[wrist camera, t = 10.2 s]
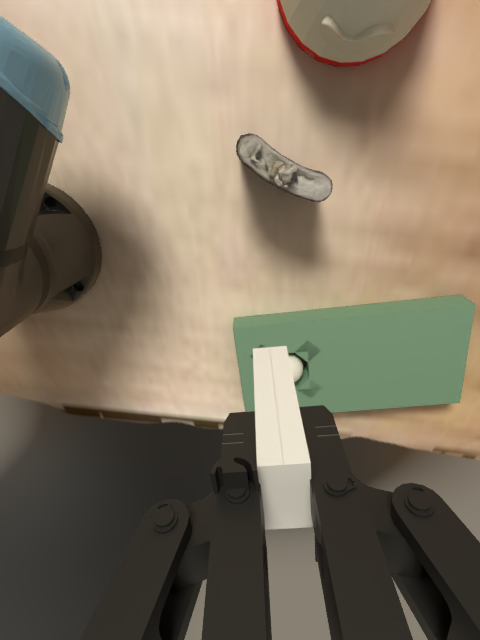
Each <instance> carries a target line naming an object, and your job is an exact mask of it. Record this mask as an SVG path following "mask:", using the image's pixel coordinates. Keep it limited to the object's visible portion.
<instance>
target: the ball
mask: <svg viewBox="0 0 480 640" xmlns="http://www.w3.org/2000/svg"><path fill="white" fill-rule="evenodd" d="M288 356H289V361H290V366H291V370H292V375H293V380H294V382H296V381H297V380H299V379H300V377H301V376H302V373H303V364H302V362H301V360H300V358H299V357H298V356H296V355H294V354H292V353H288Z"/></svg>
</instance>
